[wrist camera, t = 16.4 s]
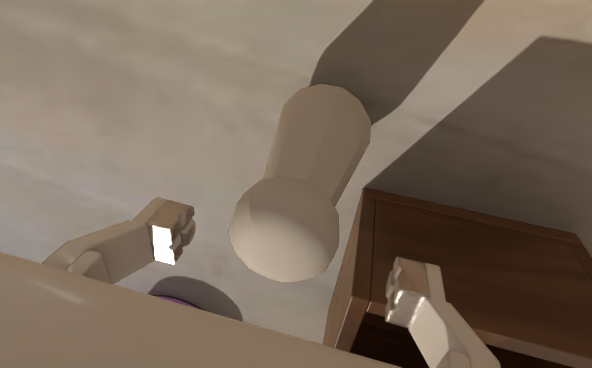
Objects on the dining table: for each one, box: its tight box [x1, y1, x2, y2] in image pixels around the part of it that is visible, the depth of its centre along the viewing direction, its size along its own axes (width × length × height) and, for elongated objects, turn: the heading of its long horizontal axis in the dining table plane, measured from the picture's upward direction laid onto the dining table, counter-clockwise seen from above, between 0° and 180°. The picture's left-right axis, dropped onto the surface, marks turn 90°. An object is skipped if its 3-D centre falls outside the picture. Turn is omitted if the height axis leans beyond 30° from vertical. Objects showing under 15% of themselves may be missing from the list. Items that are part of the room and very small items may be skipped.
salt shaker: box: [228, 84, 371, 282], centre depth 17 cm, size 6×6×13 cm
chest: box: [323, 188, 592, 368], centre depth 25 cm, size 16×15×10 cm
